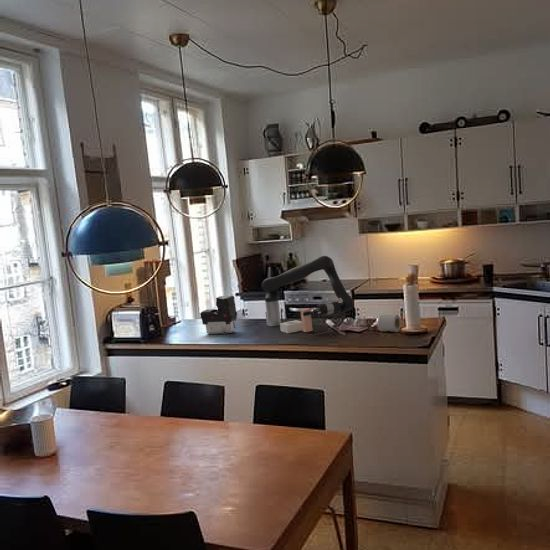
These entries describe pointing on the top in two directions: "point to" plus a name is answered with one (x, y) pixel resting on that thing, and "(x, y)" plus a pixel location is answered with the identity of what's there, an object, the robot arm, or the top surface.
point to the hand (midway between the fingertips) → (301, 313)
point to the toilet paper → (389, 323)
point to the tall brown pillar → (306, 321)
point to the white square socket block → (291, 326)
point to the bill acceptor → (220, 316)
